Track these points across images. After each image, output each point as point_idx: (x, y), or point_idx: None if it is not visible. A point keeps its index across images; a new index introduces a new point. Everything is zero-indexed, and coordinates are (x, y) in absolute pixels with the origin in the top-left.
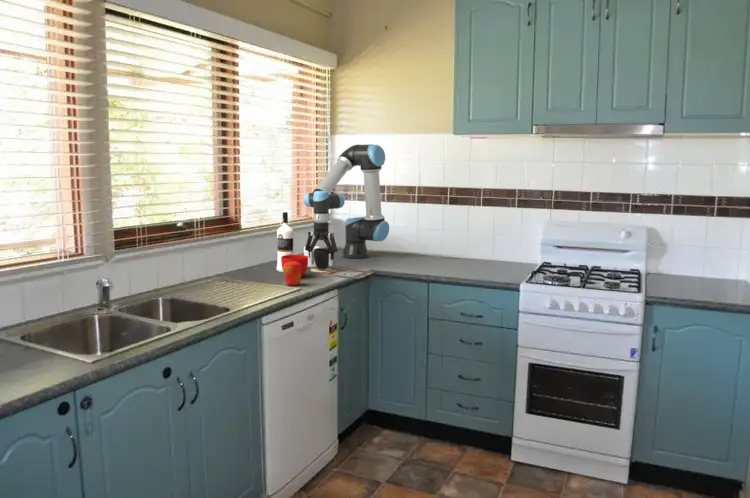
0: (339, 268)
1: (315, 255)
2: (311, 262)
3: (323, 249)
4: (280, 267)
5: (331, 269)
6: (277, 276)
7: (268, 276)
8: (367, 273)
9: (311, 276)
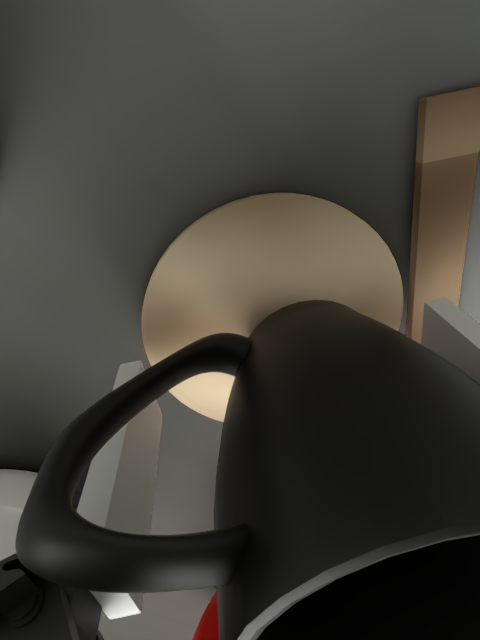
0: (449, 100)
1: (323, 601)
2: (159, 435)
3: (373, 530)
4: None
5: (384, 254)
6: (160, 615)
7: (118, 636)
8: None
9: None
